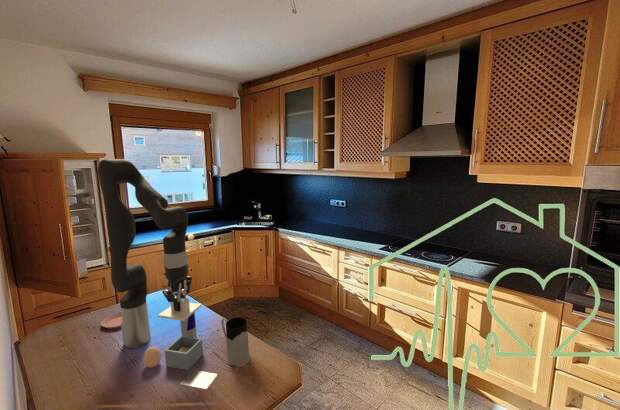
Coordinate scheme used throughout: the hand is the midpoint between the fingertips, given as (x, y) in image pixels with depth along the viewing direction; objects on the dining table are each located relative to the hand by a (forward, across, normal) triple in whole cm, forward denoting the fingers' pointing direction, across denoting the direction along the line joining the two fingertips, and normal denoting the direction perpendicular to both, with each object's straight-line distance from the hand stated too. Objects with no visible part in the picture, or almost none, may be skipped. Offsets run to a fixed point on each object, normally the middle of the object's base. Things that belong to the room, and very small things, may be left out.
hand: (180, 308), depth 111 cm
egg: (+22, +5, -10) cm, 24 cm away
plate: (+22, -17, -48) cm, 55 cm away
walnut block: (+21, 0, 0) cm, 21 cm away
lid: (+1, 0, 0) cm, 1 cm away
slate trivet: (+21, +8, +11) cm, 25 cm away
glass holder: (+21, -7, +17) cm, 28 cm away
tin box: (+21, 0, 0) cm, 21 cm away
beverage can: (+22, -11, -6) cm, 25 cm away
